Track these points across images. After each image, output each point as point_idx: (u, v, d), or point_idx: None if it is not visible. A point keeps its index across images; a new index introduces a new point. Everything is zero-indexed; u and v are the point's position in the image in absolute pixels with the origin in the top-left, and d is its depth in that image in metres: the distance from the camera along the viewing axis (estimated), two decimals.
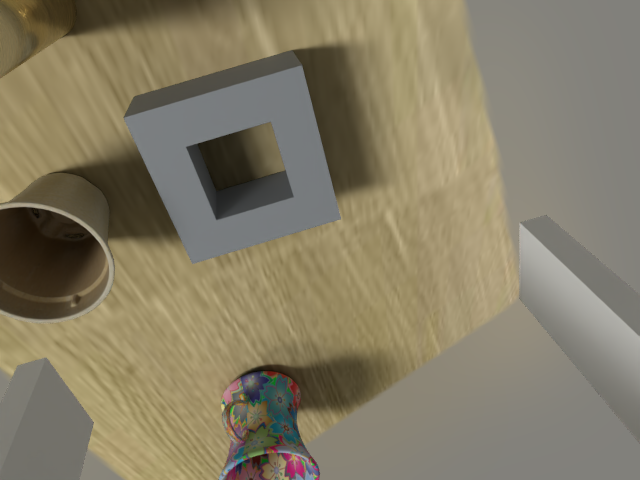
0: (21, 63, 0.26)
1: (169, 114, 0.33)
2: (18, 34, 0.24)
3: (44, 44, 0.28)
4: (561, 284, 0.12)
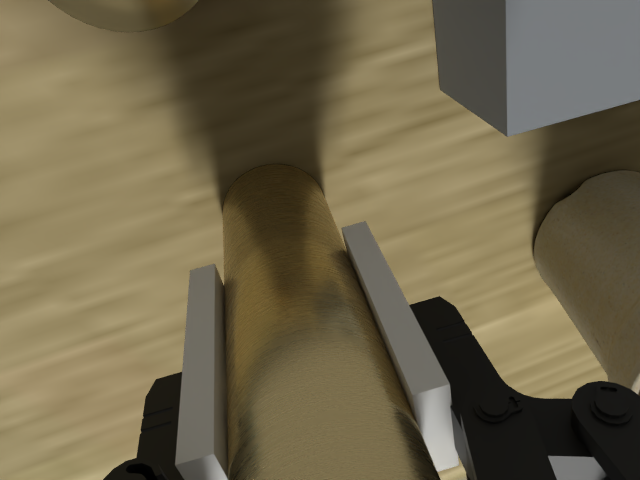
0: (390, 368, 0.11)
1: (529, 24, 0.13)
2: (333, 404, 0.09)
3: (344, 274, 0.13)
4: (361, 282, 0.14)
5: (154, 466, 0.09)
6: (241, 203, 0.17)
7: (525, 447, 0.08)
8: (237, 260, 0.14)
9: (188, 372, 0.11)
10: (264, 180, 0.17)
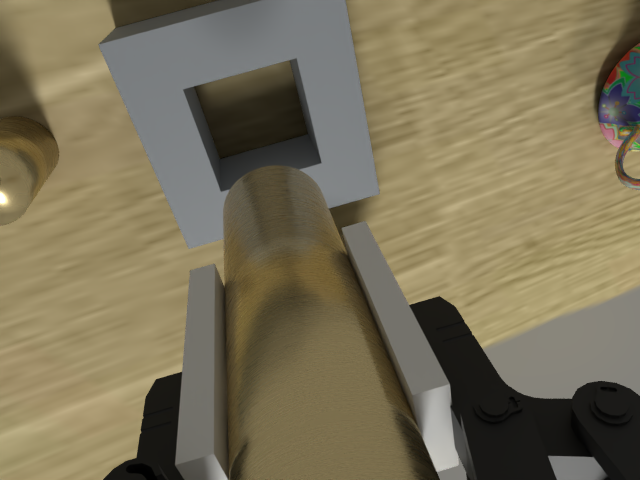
0: (390, 370, 0.11)
1: (181, 206, 0.29)
2: (334, 406, 0.09)
3: (344, 276, 0.13)
4: (360, 282, 0.14)
5: (154, 466, 0.09)
6: (242, 204, 0.17)
7: (525, 447, 0.08)
8: (237, 261, 0.14)
9: (188, 372, 0.11)
10: (264, 181, 0.17)
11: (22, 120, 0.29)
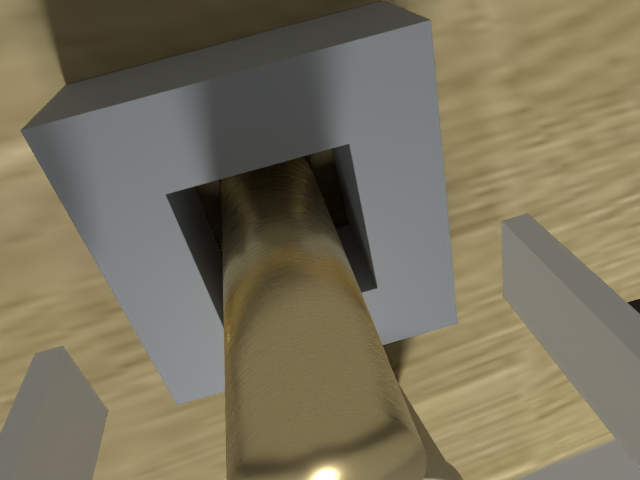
0: (360, 300, 0.13)
1: (165, 352, 0.19)
2: (310, 318, 0.11)
3: (325, 230, 0.15)
4: (540, 280, 0.12)
5: None
6: (238, 175, 0.19)
7: None
8: (233, 220, 0.16)
9: None
10: None
11: None
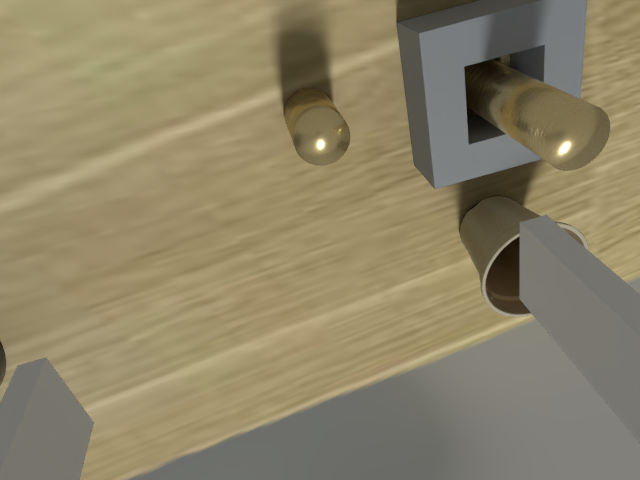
0: None
1: (439, 155, 0.39)
2: (560, 92, 0.31)
3: None
4: (561, 283, 0.12)
5: None
6: (475, 67, 0.39)
7: None
8: (489, 80, 0.36)
9: None
10: None
11: (318, 90, 0.39)
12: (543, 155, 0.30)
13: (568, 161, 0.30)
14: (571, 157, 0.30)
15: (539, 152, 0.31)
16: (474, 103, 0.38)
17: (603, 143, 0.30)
